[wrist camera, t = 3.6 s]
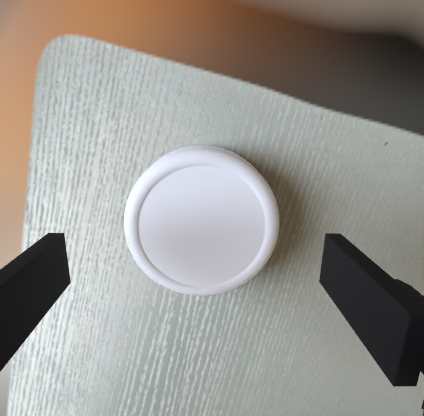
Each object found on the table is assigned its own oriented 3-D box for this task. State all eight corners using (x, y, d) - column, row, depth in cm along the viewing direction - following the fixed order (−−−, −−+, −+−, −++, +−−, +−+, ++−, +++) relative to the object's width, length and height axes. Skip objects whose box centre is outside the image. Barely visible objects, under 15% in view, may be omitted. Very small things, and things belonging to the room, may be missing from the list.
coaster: (295, 184, 22) (312, 196, 19) (230, 293, 25) (234, 321, 21) (169, 118, 21) (162, 118, 17) (113, 240, 23) (97, 262, 20)
